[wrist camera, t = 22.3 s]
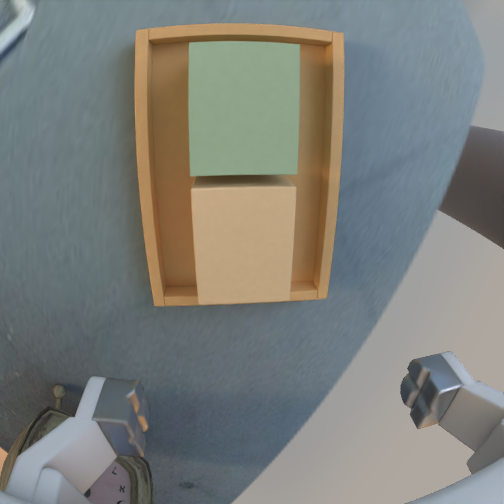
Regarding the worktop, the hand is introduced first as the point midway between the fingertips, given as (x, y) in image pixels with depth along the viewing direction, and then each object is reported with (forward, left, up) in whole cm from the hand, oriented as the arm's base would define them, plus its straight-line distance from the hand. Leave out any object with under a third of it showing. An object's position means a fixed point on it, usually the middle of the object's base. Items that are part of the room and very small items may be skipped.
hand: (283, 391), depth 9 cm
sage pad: (0, -8, -15) cm, 16 cm away
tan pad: (0, 0, -15) cm, 15 cm away
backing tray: (0, -4, -15) cm, 15 cm away
